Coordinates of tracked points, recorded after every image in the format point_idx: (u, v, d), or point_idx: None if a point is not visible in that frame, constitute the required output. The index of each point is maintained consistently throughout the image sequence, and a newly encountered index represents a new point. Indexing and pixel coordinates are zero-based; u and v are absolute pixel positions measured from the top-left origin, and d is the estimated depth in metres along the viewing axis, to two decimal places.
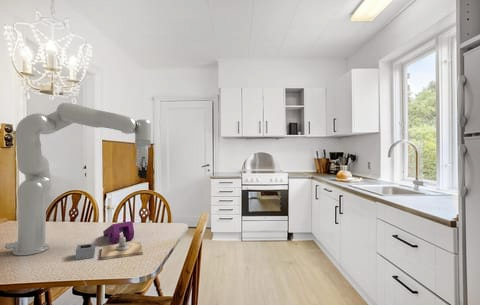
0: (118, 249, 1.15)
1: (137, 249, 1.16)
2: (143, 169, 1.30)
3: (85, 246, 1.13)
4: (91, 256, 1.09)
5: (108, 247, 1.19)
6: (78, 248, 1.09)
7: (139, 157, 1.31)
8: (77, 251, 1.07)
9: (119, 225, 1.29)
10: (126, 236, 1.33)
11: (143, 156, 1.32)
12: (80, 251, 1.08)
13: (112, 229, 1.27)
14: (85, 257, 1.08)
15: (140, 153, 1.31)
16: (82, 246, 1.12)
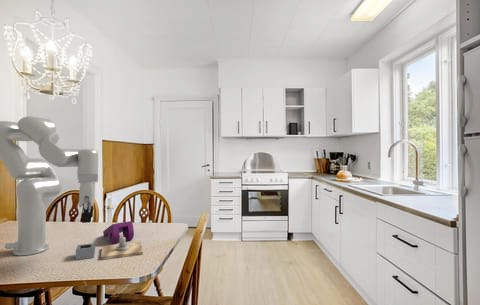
0: (118, 249, 1.15)
1: (137, 249, 1.16)
2: (86, 211, 1.06)
3: (85, 246, 1.13)
4: (91, 256, 1.09)
5: (108, 247, 1.19)
6: (78, 248, 1.09)
7: (81, 197, 1.06)
8: (77, 251, 1.07)
9: (119, 225, 1.29)
10: (126, 236, 1.33)
11: (86, 195, 1.07)
12: (80, 251, 1.08)
13: (112, 229, 1.27)
14: (85, 257, 1.08)
15: (82, 192, 1.07)
16: (82, 246, 1.12)
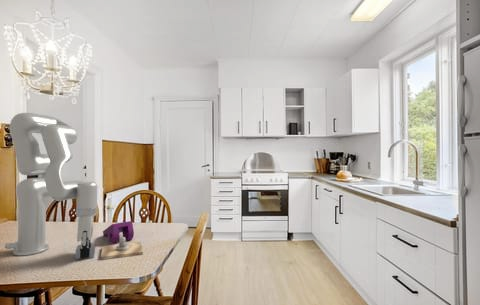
0: (118, 249, 1.15)
1: (137, 249, 1.16)
2: (84, 248, 1.07)
3: None
4: (91, 256, 1.09)
5: (108, 247, 1.19)
6: (78, 248, 1.09)
7: (79, 231, 1.06)
8: (77, 251, 1.07)
9: (119, 225, 1.29)
10: (126, 236, 1.33)
11: (85, 230, 1.07)
12: None
13: (112, 229, 1.27)
14: None
15: (81, 226, 1.06)
16: None
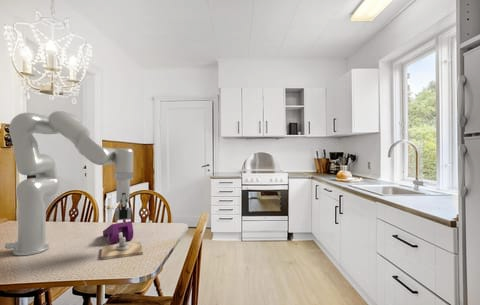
0: (118, 249, 1.15)
1: (137, 249, 1.16)
2: (123, 209, 1.13)
3: None
4: (129, 217, 1.15)
5: (108, 247, 1.19)
6: (116, 210, 1.15)
7: (119, 193, 1.12)
8: (116, 212, 1.13)
9: (118, 225, 1.29)
10: (125, 236, 1.33)
11: (123, 192, 1.13)
12: None
13: (111, 229, 1.27)
14: None
15: (120, 188, 1.13)
16: (119, 209, 1.19)
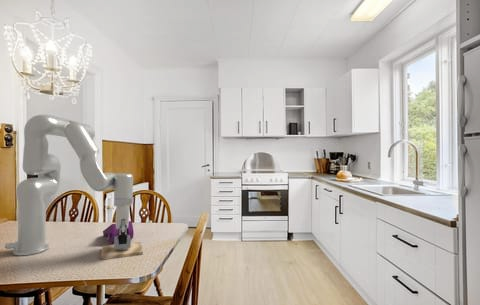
0: (118, 249, 1.15)
1: (137, 249, 1.16)
2: (123, 234, 1.12)
3: None
4: (128, 246, 1.15)
5: (108, 247, 1.19)
6: (116, 238, 1.15)
7: (118, 220, 1.12)
8: (115, 241, 1.13)
9: None
10: None
11: (123, 218, 1.13)
12: (118, 241, 1.14)
13: (111, 229, 1.28)
14: (123, 247, 1.14)
15: (119, 215, 1.12)
16: (118, 237, 1.18)
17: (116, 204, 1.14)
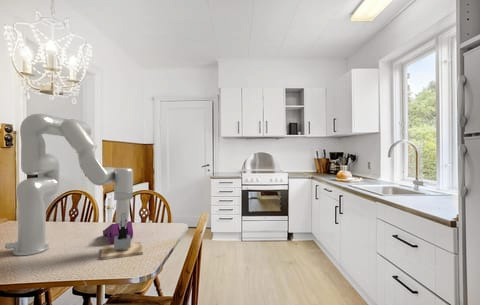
0: (118, 249, 1.15)
1: (137, 249, 1.16)
2: None
3: None
4: (128, 246, 1.15)
5: (108, 247, 1.19)
6: (116, 238, 1.15)
7: (118, 214, 1.12)
8: (115, 241, 1.13)
9: (118, 225, 1.29)
10: None
11: (123, 212, 1.13)
12: (118, 241, 1.14)
13: (111, 229, 1.28)
14: (123, 247, 1.14)
15: (119, 209, 1.12)
16: (118, 237, 1.18)
17: (116, 198, 1.14)
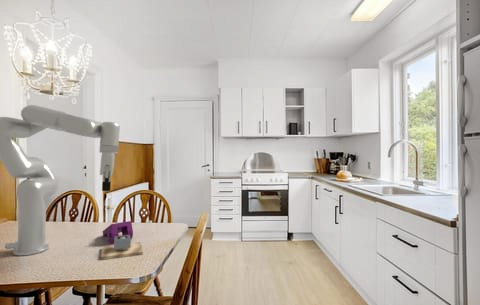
0: (118, 249, 1.15)
1: (137, 249, 1.16)
2: (106, 182, 1.18)
3: None
4: (128, 246, 1.15)
5: (108, 247, 1.19)
6: (116, 238, 1.15)
7: (102, 165, 1.14)
8: (115, 241, 1.13)
9: (118, 225, 1.29)
10: None
11: (107, 164, 1.15)
12: (118, 241, 1.14)
13: (111, 229, 1.28)
14: (123, 247, 1.14)
15: (104, 160, 1.14)
16: (118, 237, 1.18)
17: (101, 150, 1.16)
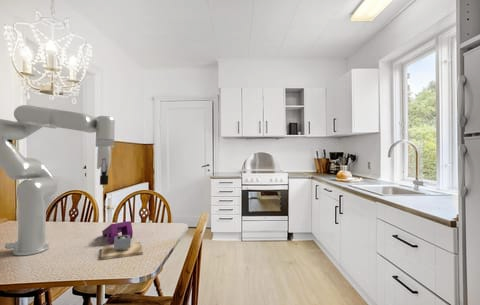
0: (118, 249, 1.15)
1: (137, 249, 1.16)
2: (104, 176, 1.18)
3: None
4: (128, 246, 1.15)
5: (108, 247, 1.19)
6: (116, 238, 1.15)
7: (99, 159, 1.15)
8: (115, 241, 1.13)
9: (117, 225, 1.29)
10: None
11: (104, 157, 1.15)
12: (118, 241, 1.14)
13: (110, 229, 1.27)
14: (123, 247, 1.14)
15: (100, 154, 1.15)
16: (118, 237, 1.18)
17: (97, 144, 1.17)
